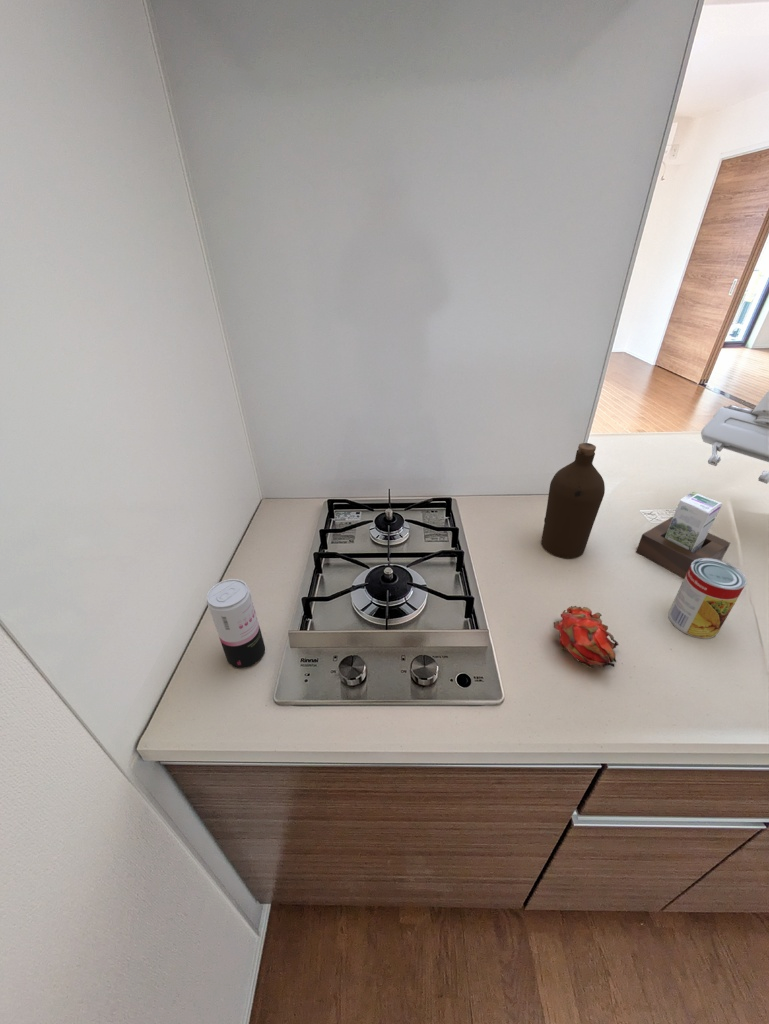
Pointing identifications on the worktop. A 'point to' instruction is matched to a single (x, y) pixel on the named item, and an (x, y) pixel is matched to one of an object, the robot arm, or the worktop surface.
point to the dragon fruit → (586, 637)
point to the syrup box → (692, 521)
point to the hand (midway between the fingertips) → (736, 472)
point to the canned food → (706, 597)
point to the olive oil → (573, 505)
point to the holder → (677, 549)
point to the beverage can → (236, 622)
